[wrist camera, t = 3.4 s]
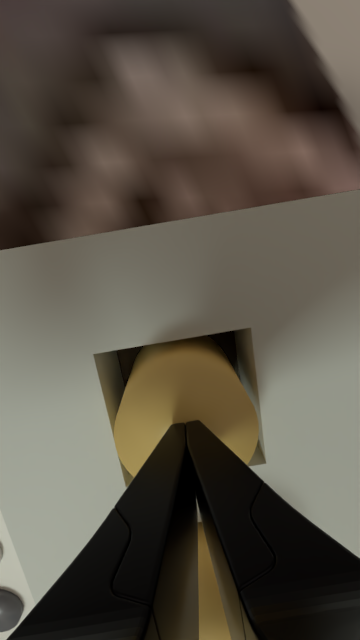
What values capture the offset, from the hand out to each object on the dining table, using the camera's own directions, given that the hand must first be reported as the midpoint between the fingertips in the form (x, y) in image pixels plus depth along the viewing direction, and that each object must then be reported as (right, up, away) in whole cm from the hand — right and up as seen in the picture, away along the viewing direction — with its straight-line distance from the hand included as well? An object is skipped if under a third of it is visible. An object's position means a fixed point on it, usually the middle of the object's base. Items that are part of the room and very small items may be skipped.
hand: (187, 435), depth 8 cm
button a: (0, +1, +4) cm, 4 cm away
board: (+1, -6, +6) cm, 8 cm away
